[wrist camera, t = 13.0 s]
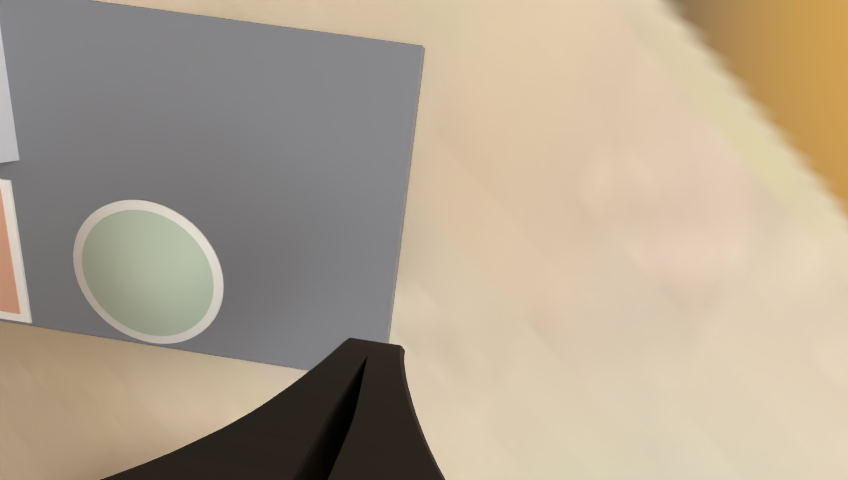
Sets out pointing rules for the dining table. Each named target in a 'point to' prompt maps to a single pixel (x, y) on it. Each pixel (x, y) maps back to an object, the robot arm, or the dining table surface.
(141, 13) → the board
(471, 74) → the dining table surface
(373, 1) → the dining table surface
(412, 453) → the robot arm
